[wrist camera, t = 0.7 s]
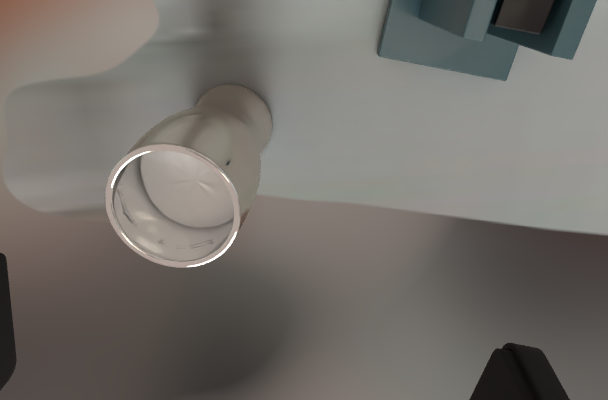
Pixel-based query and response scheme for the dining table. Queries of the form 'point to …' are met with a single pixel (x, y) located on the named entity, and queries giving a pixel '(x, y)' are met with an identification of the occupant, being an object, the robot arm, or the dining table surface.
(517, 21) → the lever
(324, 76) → the dining table surface
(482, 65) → the bracket
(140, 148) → the metal tumbler
